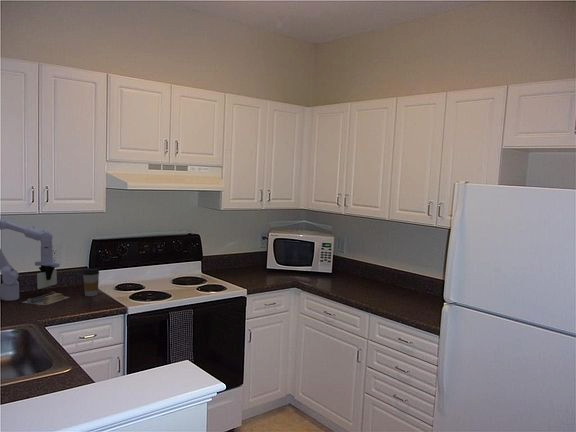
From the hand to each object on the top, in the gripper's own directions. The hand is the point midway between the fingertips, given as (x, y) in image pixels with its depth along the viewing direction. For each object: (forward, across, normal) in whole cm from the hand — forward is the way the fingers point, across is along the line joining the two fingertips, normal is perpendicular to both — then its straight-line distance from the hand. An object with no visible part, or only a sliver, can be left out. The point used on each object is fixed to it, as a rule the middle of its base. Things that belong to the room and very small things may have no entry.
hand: (47, 279), depth 252 cm
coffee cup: (+10, -19, -11) cm, 24 cm away
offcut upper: (+7, -10, +6) cm, 14 cm away
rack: (+10, -5, +6) cm, 13 cm away
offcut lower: (+9, -10, +6) cm, 15 cm away
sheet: (+4, 0, 0) cm, 4 cm away
